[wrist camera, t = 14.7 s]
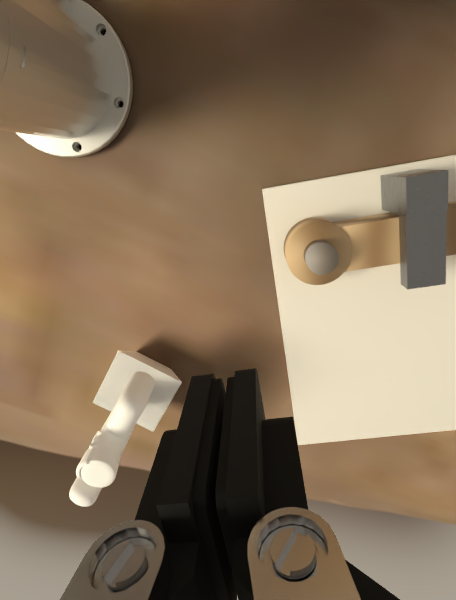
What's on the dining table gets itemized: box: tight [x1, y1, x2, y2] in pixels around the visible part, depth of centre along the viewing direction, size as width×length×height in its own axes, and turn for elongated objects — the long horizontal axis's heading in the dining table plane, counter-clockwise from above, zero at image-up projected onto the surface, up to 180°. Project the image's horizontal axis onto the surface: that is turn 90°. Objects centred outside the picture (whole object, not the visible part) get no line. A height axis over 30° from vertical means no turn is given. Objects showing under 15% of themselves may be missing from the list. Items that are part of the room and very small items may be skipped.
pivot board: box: [262, 154, 456, 445], centre depth 38 cm, size 29×30×1 cm
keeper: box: [380, 169, 448, 290], centre depth 32 cm, size 9×3×6 cm, turn 10°
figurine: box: [69, 351, 182, 507], centre depth 36 cm, size 7×9×15 cm
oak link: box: [284, 201, 456, 285], centre depth 32 cm, size 25×6×5 cm, turn 100°
